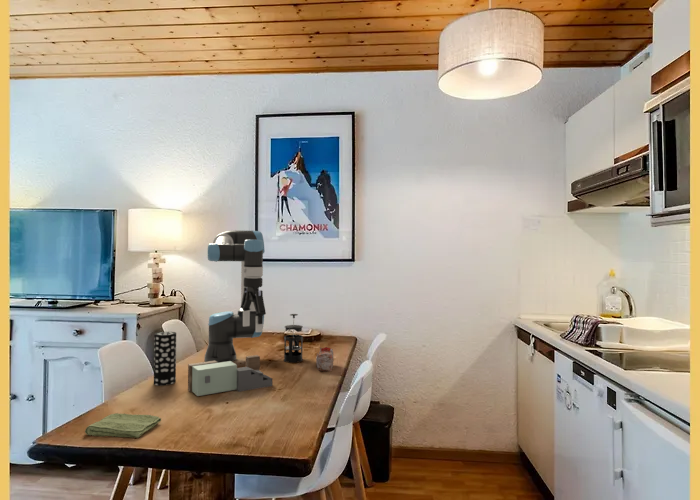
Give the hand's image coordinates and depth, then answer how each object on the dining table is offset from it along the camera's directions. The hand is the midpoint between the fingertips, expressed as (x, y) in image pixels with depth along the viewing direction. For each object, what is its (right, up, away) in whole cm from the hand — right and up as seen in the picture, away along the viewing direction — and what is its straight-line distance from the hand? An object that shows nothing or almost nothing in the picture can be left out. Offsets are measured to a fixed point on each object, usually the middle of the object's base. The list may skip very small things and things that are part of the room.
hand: (252, 329), depth 183 cm
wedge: (+2, -22, -5) cm, 23 cm away
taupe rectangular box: (-10, -22, -3) cm, 24 cm away
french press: (+12, -23, +39) cm, 47 cm away
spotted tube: (-36, -22, -1) cm, 42 cm away
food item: (+28, -23, +25) cm, 44 cm away
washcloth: (-28, -22, -48) cm, 60 cm away
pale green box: (-12, -22, -11) cm, 27 cm away
